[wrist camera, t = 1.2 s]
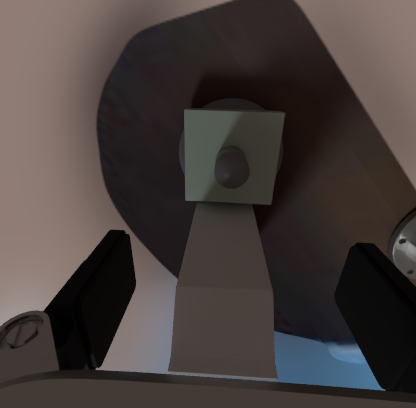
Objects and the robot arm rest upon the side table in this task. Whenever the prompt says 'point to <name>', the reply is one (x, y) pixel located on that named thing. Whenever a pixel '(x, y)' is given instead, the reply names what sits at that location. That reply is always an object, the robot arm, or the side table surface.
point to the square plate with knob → (231, 154)
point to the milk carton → (224, 298)
